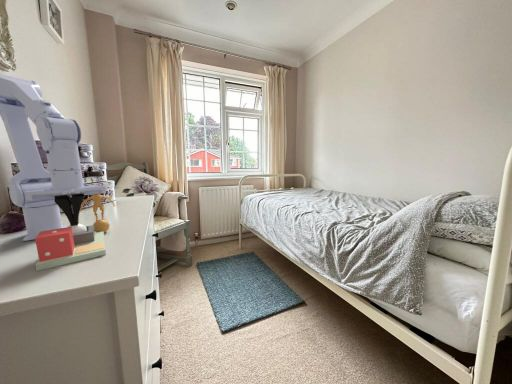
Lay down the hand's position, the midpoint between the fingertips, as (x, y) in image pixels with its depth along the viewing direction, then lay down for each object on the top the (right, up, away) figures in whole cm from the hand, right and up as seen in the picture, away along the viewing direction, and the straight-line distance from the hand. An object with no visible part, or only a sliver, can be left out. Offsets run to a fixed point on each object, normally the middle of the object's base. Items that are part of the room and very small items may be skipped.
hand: (74, 224), depth 52 cm
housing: (0, -4, +1) cm, 4 cm away
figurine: (-1, -4, +10) cm, 11 cm away
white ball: (0, -4, +1) cm, 4 cm away
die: (+3, -5, -7) cm, 9 cm away
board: (+2, -6, -2) cm, 7 cm away
